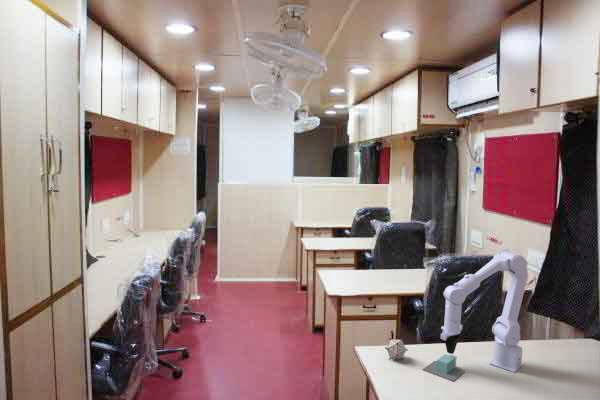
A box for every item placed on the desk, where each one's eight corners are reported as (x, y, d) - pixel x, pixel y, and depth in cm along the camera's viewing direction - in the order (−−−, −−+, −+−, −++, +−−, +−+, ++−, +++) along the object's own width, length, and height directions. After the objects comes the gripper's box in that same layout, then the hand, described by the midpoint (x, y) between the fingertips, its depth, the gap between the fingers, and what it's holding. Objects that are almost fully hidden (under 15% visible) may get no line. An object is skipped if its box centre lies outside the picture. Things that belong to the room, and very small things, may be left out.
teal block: (456, 356, 172) (447, 363, 166) (455, 366, 172) (446, 373, 167) (446, 353, 175) (436, 359, 169) (445, 363, 175) (436, 370, 169)
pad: (464, 372, 169) (465, 371, 169) (453, 381, 162) (453, 380, 162) (434, 361, 177) (434, 360, 177) (422, 370, 170) (422, 369, 170)
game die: (397, 365, 181) (411, 344, 182) (400, 368, 172) (414, 345, 174) (378, 352, 182) (392, 330, 184) (380, 353, 174) (394, 331, 176)
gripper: (451, 310, 179) (448, 343, 180) (433, 320, 168) (431, 355, 170) (468, 315, 174) (466, 349, 176) (452, 325, 164) (449, 361, 165)
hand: (450, 352), depth 172 cm, fingers closed
